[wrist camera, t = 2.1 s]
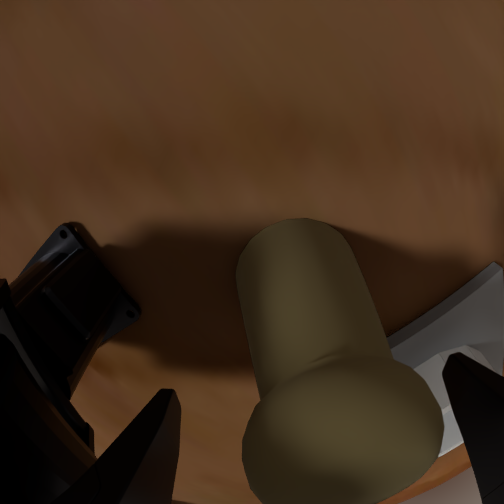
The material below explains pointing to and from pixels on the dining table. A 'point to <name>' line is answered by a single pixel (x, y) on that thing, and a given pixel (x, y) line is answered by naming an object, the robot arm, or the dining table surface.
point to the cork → (326, 377)
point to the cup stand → (456, 339)
